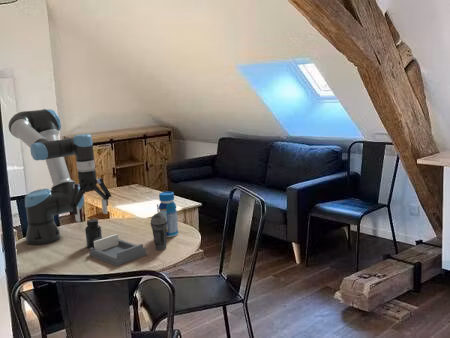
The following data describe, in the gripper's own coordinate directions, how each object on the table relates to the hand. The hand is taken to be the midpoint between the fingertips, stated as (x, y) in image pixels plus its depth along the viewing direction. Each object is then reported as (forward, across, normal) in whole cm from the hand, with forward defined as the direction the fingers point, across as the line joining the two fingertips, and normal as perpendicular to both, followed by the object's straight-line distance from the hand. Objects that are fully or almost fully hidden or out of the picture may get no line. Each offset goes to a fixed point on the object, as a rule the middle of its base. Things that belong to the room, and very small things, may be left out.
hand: (92, 217), depth 214 cm
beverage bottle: (+14, +30, -16) cm, 37 cm away
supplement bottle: (+14, 0, 0) cm, 14 cm away
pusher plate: (+12, 0, -10) cm, 16 cm away
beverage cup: (+14, +16, -26) cm, 34 cm away
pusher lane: (+14, 0, -18) cm, 22 cm away
